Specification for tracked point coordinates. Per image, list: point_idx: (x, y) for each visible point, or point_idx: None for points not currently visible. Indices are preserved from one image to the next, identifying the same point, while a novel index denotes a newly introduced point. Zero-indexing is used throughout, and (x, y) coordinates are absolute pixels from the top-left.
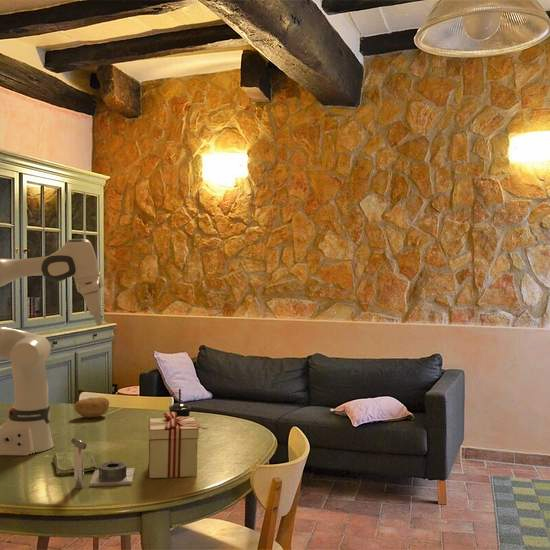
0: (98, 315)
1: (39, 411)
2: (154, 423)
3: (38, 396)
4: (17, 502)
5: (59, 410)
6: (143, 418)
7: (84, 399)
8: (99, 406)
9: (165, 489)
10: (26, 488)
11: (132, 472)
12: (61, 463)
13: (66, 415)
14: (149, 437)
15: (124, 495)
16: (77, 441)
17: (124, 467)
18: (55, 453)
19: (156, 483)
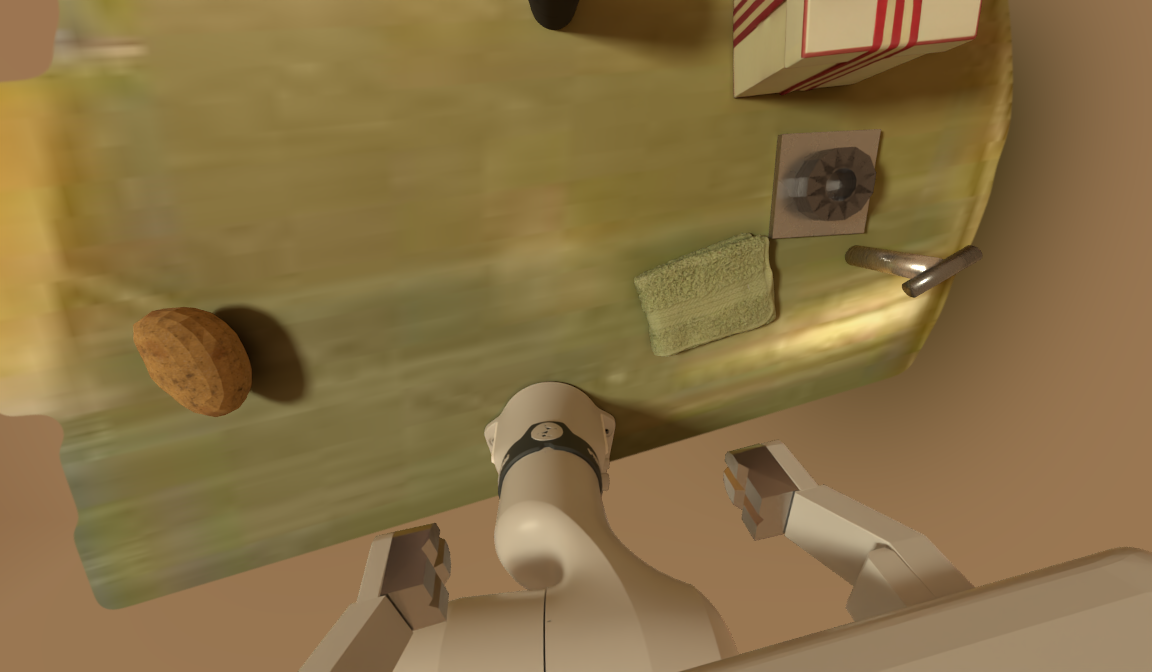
0: (920, 555)
1: (590, 458)
2: (893, 24)
3: (593, 492)
4: (902, 354)
5: (158, 459)
6: (210, 172)
7: (188, 395)
8: (215, 334)
9: None
10: (830, 359)
11: (817, 135)
12: (746, 322)
13: (217, 426)
14: (952, 47)
15: (938, 139)
16: (952, 275)
17: (860, 150)
18: (670, 354)
19: None
